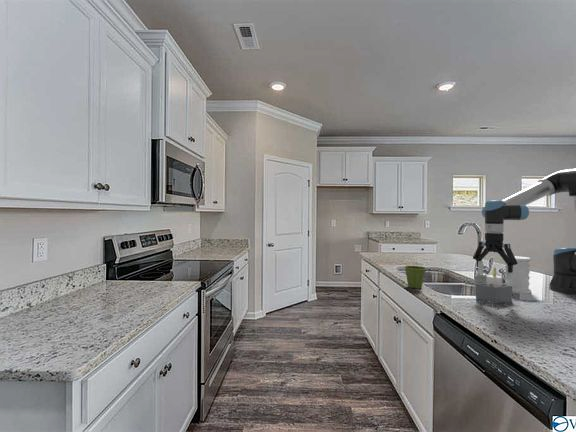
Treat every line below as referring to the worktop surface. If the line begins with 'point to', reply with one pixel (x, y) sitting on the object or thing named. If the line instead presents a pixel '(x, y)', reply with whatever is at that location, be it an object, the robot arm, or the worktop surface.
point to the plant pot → (415, 276)
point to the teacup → (481, 279)
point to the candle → (494, 280)
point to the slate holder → (494, 293)
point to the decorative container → (520, 276)
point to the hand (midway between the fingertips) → (493, 276)
